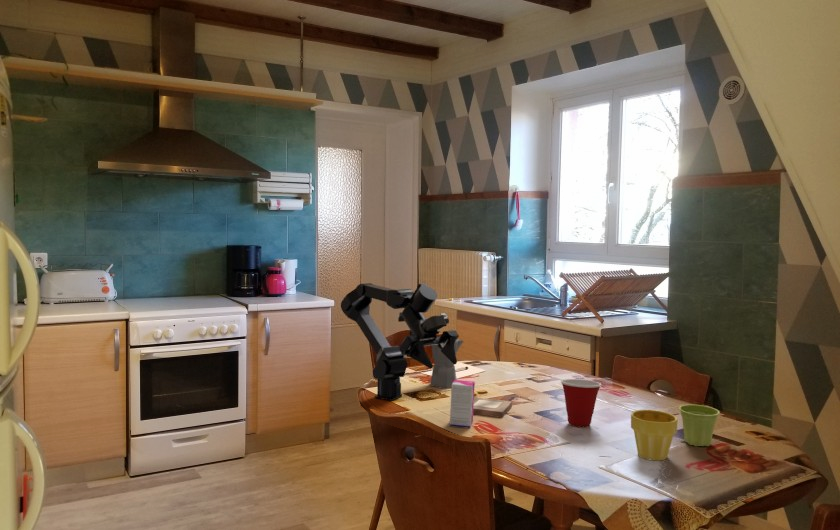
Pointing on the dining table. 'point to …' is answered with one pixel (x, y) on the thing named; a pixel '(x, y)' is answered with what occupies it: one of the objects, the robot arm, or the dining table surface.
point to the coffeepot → (443, 367)
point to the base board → (491, 406)
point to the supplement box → (462, 403)
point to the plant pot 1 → (653, 433)
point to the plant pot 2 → (698, 424)
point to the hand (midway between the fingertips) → (444, 365)
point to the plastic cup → (580, 400)
